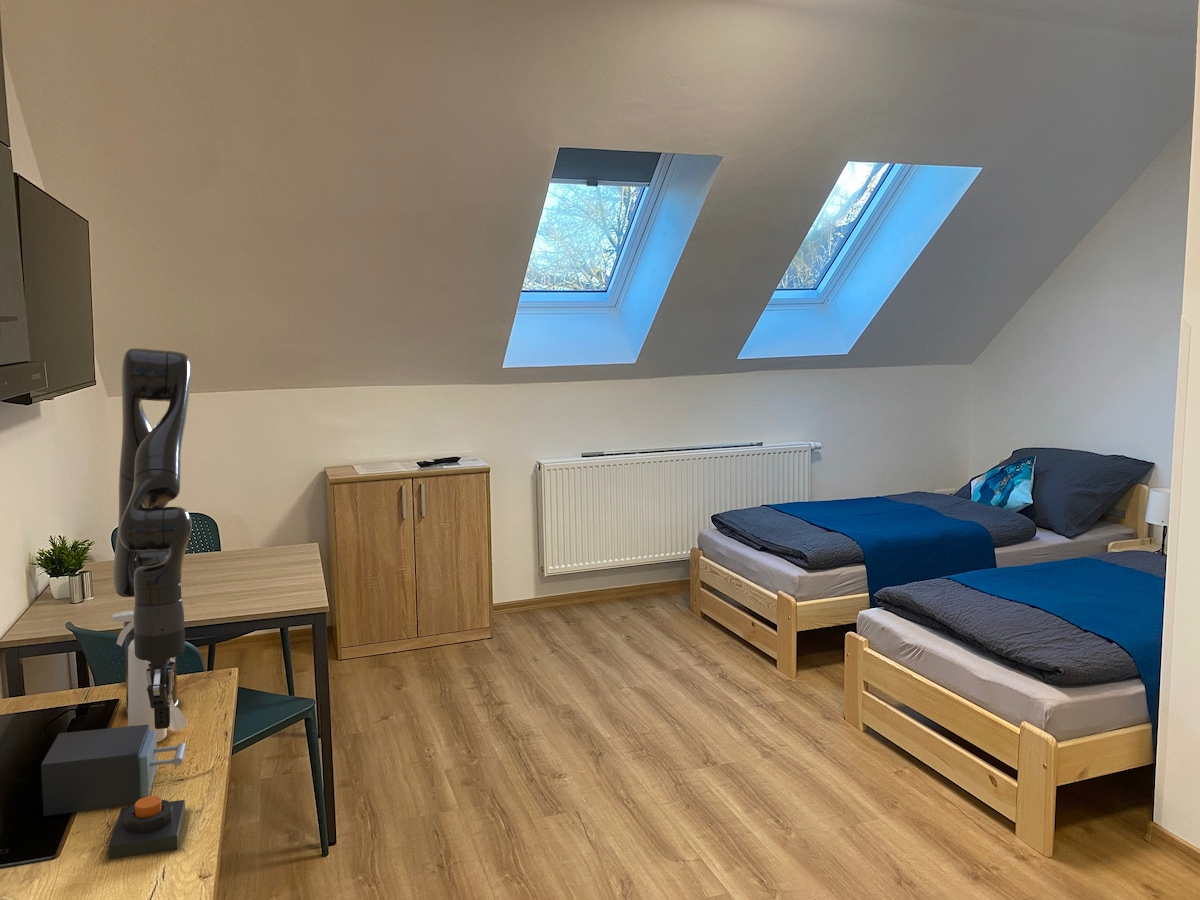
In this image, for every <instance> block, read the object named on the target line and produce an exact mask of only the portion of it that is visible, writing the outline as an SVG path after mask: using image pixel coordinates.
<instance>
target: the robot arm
mask: <svg viewBox="0 0 1200 900" xmlns="http://www.w3.org/2000/svg"><path fill="white" fill-rule="evenodd" d="M191 378H192V368H191V361H190V359H189V356H188V355H187V354H186V353H184V352H182V351H181V352H180V351H175V350H174V351H173V350H164V349H163V350H161V349H150V348H141V347H140V348H138V347H137V348H135V347H134V348H129V349H128V350H126V352H125V353H124V356H123V359H122V366H121V405H122V406H121V407H122V410H121V411H122V412H121V413H122V432H121V433H122V434H121V435H122V436H121V447H120V448H121V449H120V460H119V473H118V475H119V476H118V521H117V522H118V525H117V534H116V542H115V550H114V557H113V568H112V582H113V583H112V584H113V586H114V587H113V588H114V591H115V592H116V594H117V595H119V597H121V598H134V608H133V609H132V610H131V611H134V627H133V628H132V629H131V630H130V632H129V633H128V634H127V635H126V636H125V639H124V641H123V645H124V669H125V671H124V672H125V701H126V702H125V703H126V707H125V711H126V712H125V713H126V715H127V716H128V647H129V645H130V643H131V641H132V640H134V646H135V656H136V657H137V658H138V659H140V660H147V661H149V662H151V663H150V664H149V665H148V669H146V679H147V680H148V688H147V691H148V695H149V700H150V706H151V709H152V708H154V719H155V728H156V729H164V728H167V729H168V728H169V727H170V703H171V700H172V699H173V702H174V705H175V707H177V708H179V699H178V672H177V671H178V670H177V669H178V668H177V667H178V666H177V657H179V656H181V655H182V654H184V652H185V651H186V632H185V631H186V629H185V608H184V604H183V589H182V588H183V587H182V585H183V584H182V574H183V573H182V572H183V563H184V559H185V554H186V550H187V547H188V544H189V540H190V538H191V533H192V528H193V521H192V517H191V515H190V513H189V512H188V511H187V510H186V509H185V508H184V507H181V506H167V505H168V504H169V502H172V501H173V500H175V499H176V498H177V497H178V496H179V495H180V491H181V470H182V469H181V465H182V464H181V463H182V462H181V461H182V459H181V457H182V447H183V439H184V433H185V429H186V428H185V427H186V422H187V416H188V408H189V401H190V400H189V399H190V392H191ZM142 401H155V402H167V403H169V404H168V407H167V410H166V412H165V413H164V415H163V416H162V417H161V418H160V420H159V421H158V422H157V423H156V424H155V425H154V427H152V425H151V423H150V422H149V420H148V417H147V415H146V412H145V410H144V406H143V402H142ZM130 622H131V621H129V622H123V629H124V628H125V627H126V626H127V625H128V624H129V623H130ZM174 657H175V661H174V662H173V661H171V658H174ZM172 688H173V690H172ZM171 695H172V698H171Z"/></svg>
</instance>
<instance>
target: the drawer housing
mask: <svg viewBox="0 0 1200 900" xmlns="http://www.w3.org/2000/svg"><path fill="white" fill-rule="evenodd" d="M148 731H149V724H147V725H137V726H128V725H127V726H118V727H108V728H99V729H89V730H79V731H70V732H69V731H68V732H59V733H58V734H57V736H56V738H55V740H54V742H53V743H52V745H51V747H49V750H48V752H47V754H46V755H45V757H44V758H43V760H42V761H41V764H40V768H41V770H40V771H41V791H42V792H41V793H42V812H43V813H42V814H43V817H49V816H57V815H64V814H72V813H80V812H88V811H96V810H104V809H112V808H119V807H121V808H122V807H130V806H133V805H134V804H135V803H136V802H137V801H138V800H139V799H141V798H143V797H140V771H139V755H140V754H141V751H142V748H143V745H144V742H145V739H146V737H147V734H148Z"/></svg>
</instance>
